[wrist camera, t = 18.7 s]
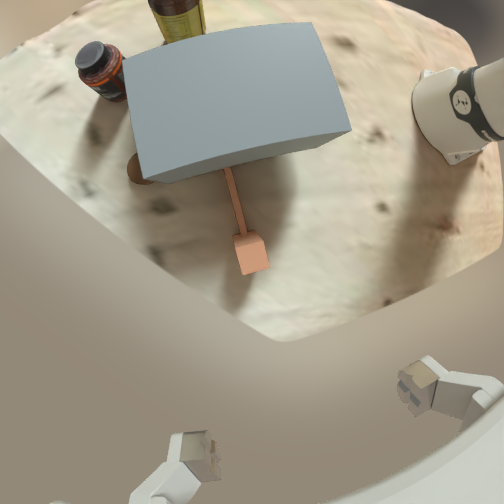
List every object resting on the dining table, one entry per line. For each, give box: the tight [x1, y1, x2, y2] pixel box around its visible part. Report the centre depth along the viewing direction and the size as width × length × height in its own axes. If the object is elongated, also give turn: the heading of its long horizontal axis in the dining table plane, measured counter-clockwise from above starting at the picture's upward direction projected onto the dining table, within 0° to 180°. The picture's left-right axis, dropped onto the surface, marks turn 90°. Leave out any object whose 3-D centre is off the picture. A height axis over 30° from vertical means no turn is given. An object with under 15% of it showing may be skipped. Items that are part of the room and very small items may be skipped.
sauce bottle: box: [148, 0, 206, 44], centre depth 20 cm, size 7×6×20 cm
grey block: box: [122, 22, 352, 184], centre depth 26 cm, size 18×12×15 cm, turn 105°
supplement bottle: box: [75, 41, 127, 102], centre depth 25 cm, size 6×6×11 cm
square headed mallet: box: [224, 167, 270, 275], centre depth 32 cm, size 3×12×9 cm, turn 15°
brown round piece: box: [127, 153, 154, 185], centre depth 33 cm, size 4×4×2 cm
